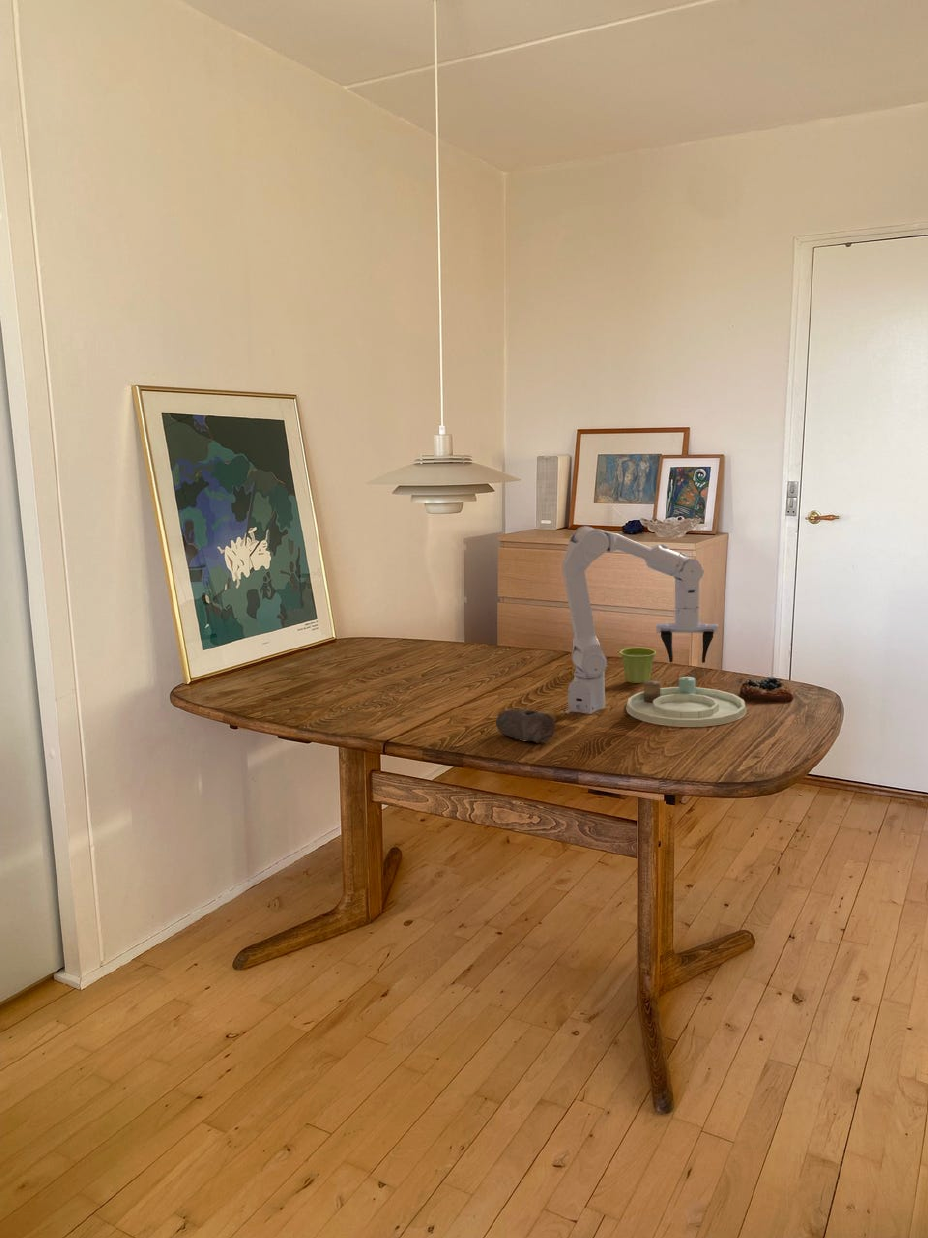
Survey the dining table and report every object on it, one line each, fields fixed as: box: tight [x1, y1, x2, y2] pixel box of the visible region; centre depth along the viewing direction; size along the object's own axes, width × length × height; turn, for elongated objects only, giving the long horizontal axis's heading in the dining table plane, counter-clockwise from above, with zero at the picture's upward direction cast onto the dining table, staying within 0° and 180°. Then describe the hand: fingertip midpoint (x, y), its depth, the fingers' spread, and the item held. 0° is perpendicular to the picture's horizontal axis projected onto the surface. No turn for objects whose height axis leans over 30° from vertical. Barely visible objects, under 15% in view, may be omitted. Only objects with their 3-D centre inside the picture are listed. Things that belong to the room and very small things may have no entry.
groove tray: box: [625, 686, 747, 728], centre depth 221 cm, size 28×28×2 cm
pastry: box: [739, 677, 794, 703], centre depth 227 cm, size 11×12×6 cm
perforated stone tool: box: [495, 709, 555, 744], centre depth 207 cm, size 15×5×7 cm, turn 47°
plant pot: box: [619, 647, 657, 684], centre depth 247 cm, size 9×9×9 cm
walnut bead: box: [643, 680, 661, 703], centre depth 228 cm, size 4×4×5 cm
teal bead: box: [678, 676, 696, 694], centre depth 230 cm, size 4×4×5 cm
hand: (687, 661), depth 228 cm, fingers open, 7 cm apart
